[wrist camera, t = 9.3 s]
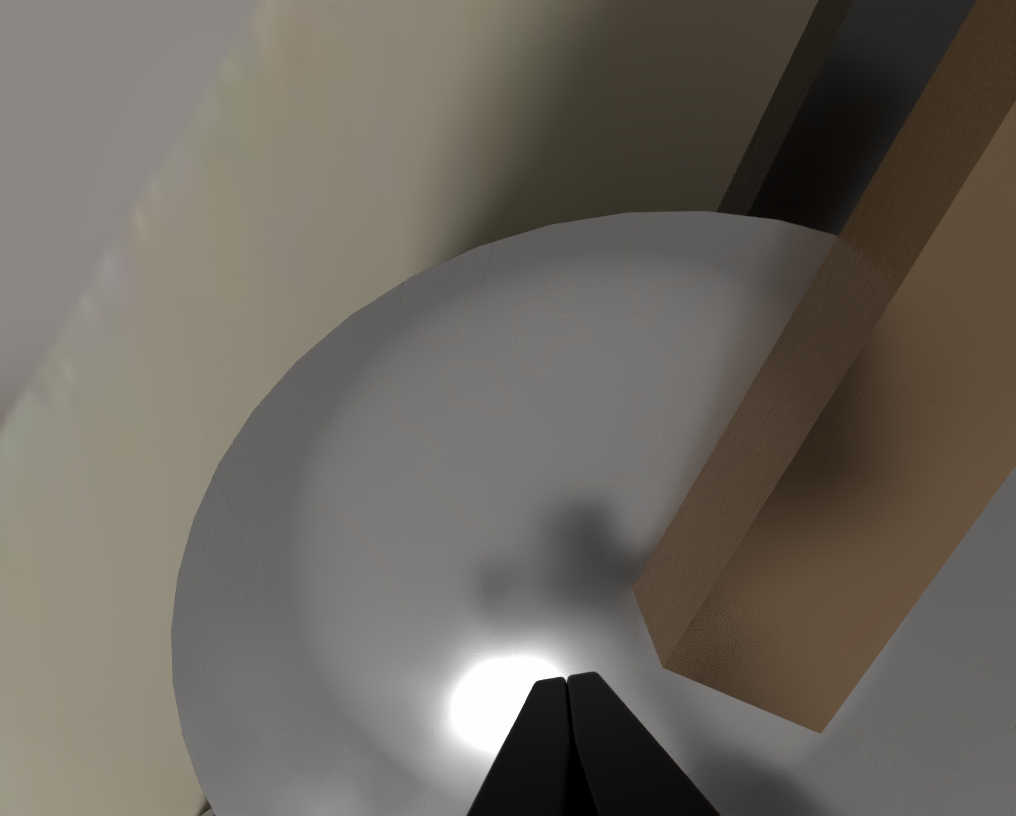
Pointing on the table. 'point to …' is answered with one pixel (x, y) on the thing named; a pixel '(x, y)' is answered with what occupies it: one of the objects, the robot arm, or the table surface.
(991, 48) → the lid
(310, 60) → the table surface
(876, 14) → the cooker pot
